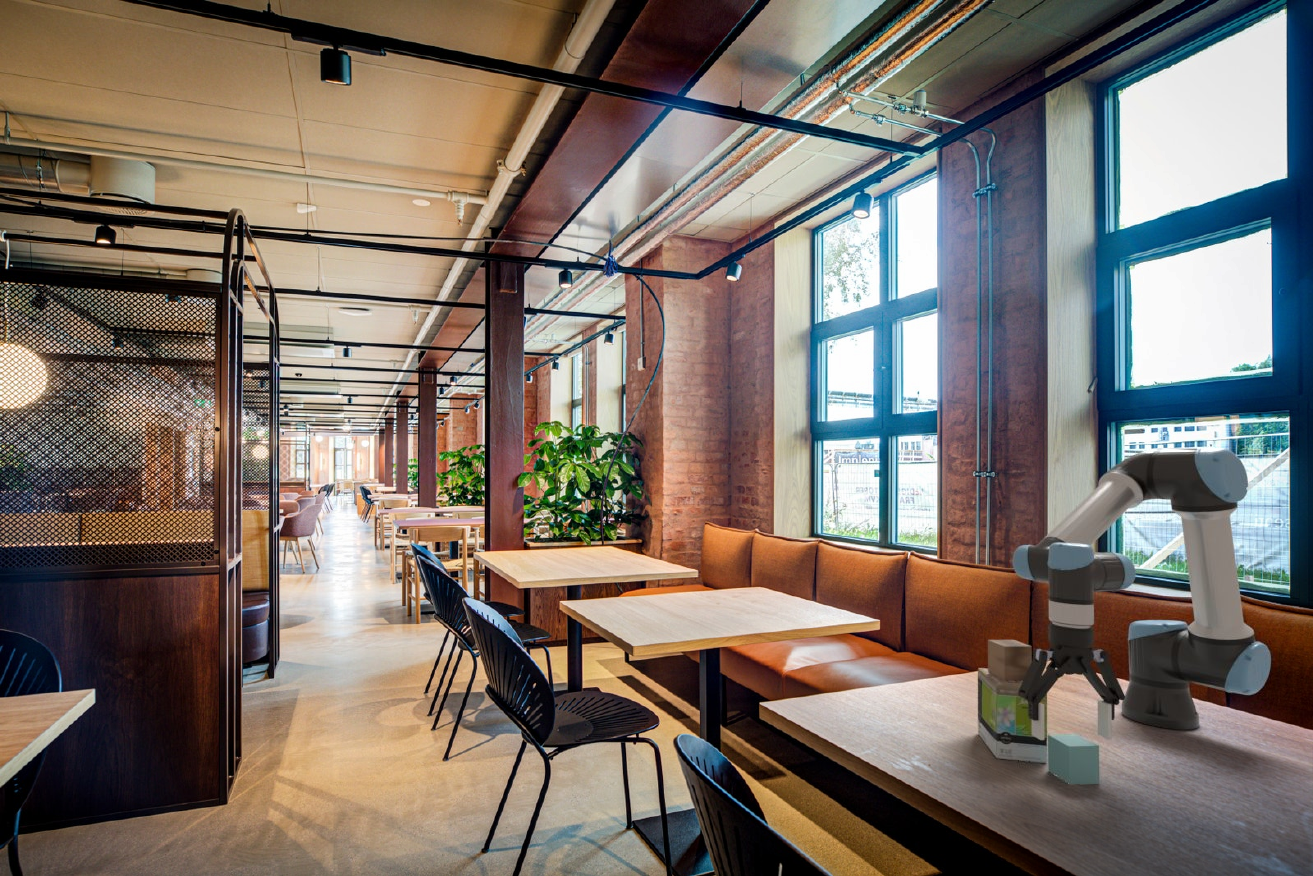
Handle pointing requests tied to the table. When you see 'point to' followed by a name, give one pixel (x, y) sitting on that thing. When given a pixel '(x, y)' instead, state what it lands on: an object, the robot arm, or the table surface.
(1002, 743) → the tea box
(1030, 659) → the walnut block
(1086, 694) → the table surface
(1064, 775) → the teal block
